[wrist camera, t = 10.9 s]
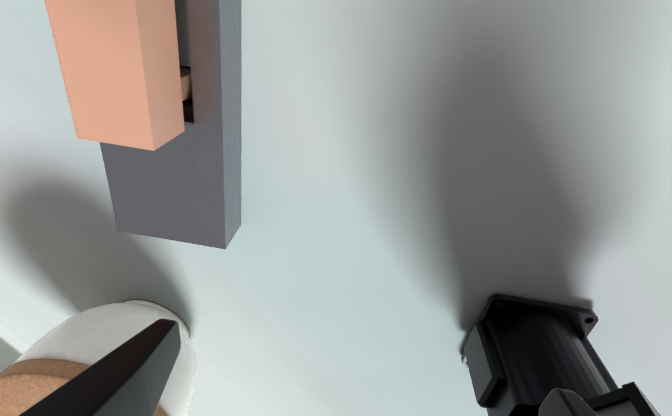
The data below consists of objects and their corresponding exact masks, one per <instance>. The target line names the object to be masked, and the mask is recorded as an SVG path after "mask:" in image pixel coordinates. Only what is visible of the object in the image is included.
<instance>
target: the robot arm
mask: <svg viewBox="0 0 672 416" xmlns="http://www.w3.org/2000/svg"><path fill="white" fill-rule="evenodd" d="M497 302H500V303H497ZM597 321H598V317H597V316H596V314H595V313H594V312H593V311H591V310H587V309H582V308H576V307H570V306H564V305H558V304H552V303H547V302H541V301H535V300H529V299H523V298H517V297H512V296H506V295H500V294H496V295H493V296H491V297H490V298H489V300H488V302H487V304H486V306H485V308H484V310H483V312H482V315H481V317H480V319H479V321H477V322H476V323H475V324H474V327H473V329H472V331H471V333H470V335H469V337H468V339H467V342H466V344H465V346H464V353H463V355H462V357H461V360H462V364H463V365H464V366H465V367H468V368H469V372H470V376H471V380H472V384H473V388H474V392H475V396H476V400H477V403H478V404H479V405H480V407H483V408H486V409H487V413H488V416H661V415H660V414H659V413H658V412H657V410H656V409H655V408H654V407H653V405H652V404H651V403H650V401H649V400H648V399H647V398H646V396H645V395H644V394H643V393H642V391H641V390H640V389H639V388H638V386H637V385H636V384H635V383H634V381H633V382H630V383H628V384H625V385H622V387H623V388H620V389H619V388H618V387H617V385H616V383H615V382H614V380H613V379H612V377H611V375H610V374H609V372H608V371H607V369H606V367H605V366H604V364H603V363H602V361H601V360H600V358H599V356H598V355H597V353H596V352H595V350H594V348H593V347H592V345H591V344H590V342H589V341H588V339H587V336H588V334H589V333H590V332H591V330H592V329H593V327H594V326H595V325H596V323H597ZM180 348H181V338H180V330H179V324H178V322H177V321H175V320H170V319H164V318H162V319H158V320H157V321H155V322H154V323H152V324H151V325H149V326H148V327H146V328H145V329H143V330H142V331H141V332H139V333H138V334H136V335H135V336H133V337H132V338H130V339H129V340H127V341H126V342H125V343H123V344H122V345H120V346H119V347H117V348H116V349H114V350H113V351H111V352H110V353H108V354H107V355H106V356H104V357H103V358H101V359H100V360H98V361H97V362H95V363H94V364H92V365H91V366H90V367H88V368H87V369H85V370H84V371H82V372H81V373H79V374H78V375H76V376H75V377H74V378H72V379H71V380H69V381H68V382H66V383H65V384H63V385H62V386H60V387H59V388H57V389H56V390H55V391H53V392H52V393H50V394H49V395H47V396H46V397H44V398H43V399H41V400H40V401H39V402H37V403H36V404H34V405H33V406H31V407H30V408H28V409H27V410H25V411H24V412H23V413H21V414H20V415H18V416H153V414H154V412H155V410H156V407H157V405H158V403H159V400H160V398H161V395H162V393H163V391H164V388H165V386H166V383H167V381H168V379H169V376H170V374H171V371H172V369H173V367H174V364H175V362H176V360H177V357H178V355H179V352H180Z"/></svg>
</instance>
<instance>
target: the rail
mask: <svg viewBox="0 0 672 416" xmlns="http://www.w3.org/2000/svg"><path fill="white" fill-rule="evenodd" d="M174 3H175V15H176V28H177V40H178V53H179V65H182V66H188V67H190V68H191V83H192V98H193V105H187V104H183V116H184V129H185V131H184V132H182V133H181V134H179V135H178V136H176V137H175V138H173V139H172V140H170V141H168V142H167V143H165V144H164V145H162V146H161V147H159V148H158V149H156V150H155V151H152V150H146V149H140V148H134V147H128V146H122V145H116V144H110V143H104V142H100V146H101V150H102V155H103V160H104V165H105V170H106V175H107V180H108V184H109V189H110V194H111V199H112V204H113V209H114V213H115V218H116V223H117V228H118V231H123V232H128V233H134V234H140V235H146V236H152V237H158V238H163V239H169V240H175V241H181V242H187V243H193V244H198V245H204V246H210V247H216V248H222V249H226V248H227V246H228V245H229V243H230V241H231V240H232V238H233V237H234V235H235V233H236V232H237V230H238V229H239V227H240V225H241V0H174Z"/></svg>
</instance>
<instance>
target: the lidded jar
mask: <svg viewBox="0 0 672 416" xmlns="http://www.w3.org/2000/svg"><path fill="white" fill-rule="evenodd" d="M162 318H164V319H170V320H175V321H177V322H178V324H179V330H180V338H181V348H180V352H179V355H178V357H177V360H176V362H175V364H174V367H173V369H172V371H171V374H170V376H169V379H168V381H167V383H166V386H165V388H164V391H163V393H162V395H161V398H160V400H159V403H158V405H157V407H156V410H155V412H154V414H153V416H187V413H188V411H189V408H190V405H191V401H192V398H193V395H194V390H195V386H196V377H197V363H196V356H195V351H194V348H193V346H192V343H191V341H190V335H189V332H188V329H187V327H186V326H185V324H184V323H183V321H182V320H181V319H180V318H179V317H178V316H177V315H175V314H174V313H173V312H172V311H170V310H168V309H167V308H165V307H163V306H161V305H158V304H156V303H153V302H149V301H143V300H129V301H125V302H122V303H113V304H105V305H101V306H97V307H94V308H90V309H87V310H85V311H83V312H81V313H79V314H76V315H74V316H72V317H70V318H68V319H67V320H65V321H64V322H62V323H61V324H59V325H58V326H56V327H55V328H53V329H52V330H51V331H49V332H48V333H47V334H46V335H44V336H43V337H42V338H40V339H39V340H38V341H37V342H36V343H35V344H33V345H32V346H31V347H30V348H29V349H28V350H27V351H26V352H25V353H24V354H22V355H21V356H20V357H19V358H18V359H17V360H16V361H15V362H14V363H13V364H12V365H10V366H8V367H7V368H6V369H5V370H4V371H2V372H1V373H0V416H18V415H20V414H21V413H23V412H24V411H25V410H27V409H28V408H30V407H31V406H33V405H34V404H36V403H37V402H39V401H40V400H41V399H43V398H44V397H46V396H47V395H49V394H50V393H52V392H53V391H55V390H56V389H57V388H59V387H60V386H62V385H63V384H65V383H66V382H68V381H69V380H71V379H72V378H74V377H75V376H76V375H78V374H79V373H81V372H82V371H84V370H85V369H87V368H88V367H90V366H91V365H92V364H94V363H95V362H97V361H98V360H100V359H101V358H103V357H104V356H106V355H107V354H108V353H110V352H111V351H113V350H114V349H116V348H117V347H119V346H120V345H122V344H123V343H125V342H126V341H127V340H129V339H130V338H132V337H133V336H135V335H136V334H138V333H139V332H141V331H142V330H143V329H145V328H146V327H148V326H149V325H151V324H152V323H154V322H155V321H157V320H158V319H162Z"/></svg>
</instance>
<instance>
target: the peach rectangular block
mask: <svg viewBox="0 0 672 416" xmlns="http://www.w3.org/2000/svg"><path fill="white" fill-rule="evenodd" d="M45 3H46V8H47V12H48V16H49V20H50V24H51V29H52V33H53V37H54V41H55V46H56V50H57V54H58V58H59V63H60V67H61V71H62V75H63V79H64V84H65V88H66V92H67V96H68V101H69V105H70V109H71V113H72V117H73V122H74V126H75V130H76V134H77V138H80V139H86V140H92V141H98V142H104V143H110V144H116V145H122V146H128V147H134V148H140V149H146V150H152V151H155V150H156V149H158V148H159V147H161V146H162V145H164V144H165V143H167V142H168V141H170V140H172V139H173V138H175V137H176V136H178V135H179V134H181V133H182V132H184V131H185V129H184V116H183V104H182V101H184V100H186V99H188V98H190V97H192V83H191V69H185V68H180V66H179V53H178V40H177V28H176V15H175V3H174V0H45Z"/></svg>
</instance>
